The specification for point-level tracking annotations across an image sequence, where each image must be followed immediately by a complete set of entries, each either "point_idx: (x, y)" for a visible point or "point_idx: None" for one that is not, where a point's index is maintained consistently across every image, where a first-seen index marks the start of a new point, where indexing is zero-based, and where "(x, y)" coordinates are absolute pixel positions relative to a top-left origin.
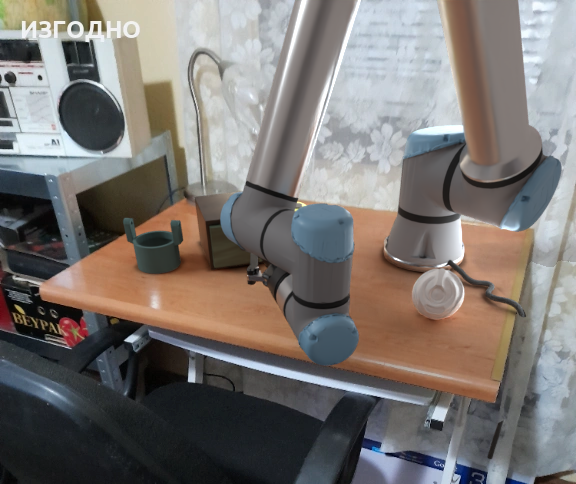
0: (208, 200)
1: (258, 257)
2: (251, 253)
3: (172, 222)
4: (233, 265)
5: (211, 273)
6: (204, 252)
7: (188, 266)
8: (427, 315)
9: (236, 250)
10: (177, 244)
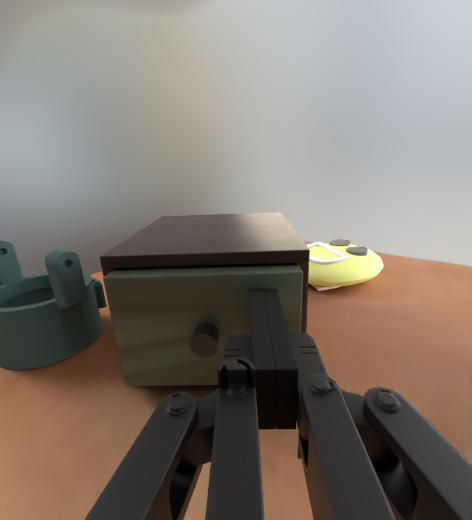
0: (176, 221)
1: (200, 463)
2: (105, 500)
3: (50, 254)
4: None
5: (116, 398)
6: None
7: (94, 357)
8: None
9: (187, 348)
10: (62, 307)
